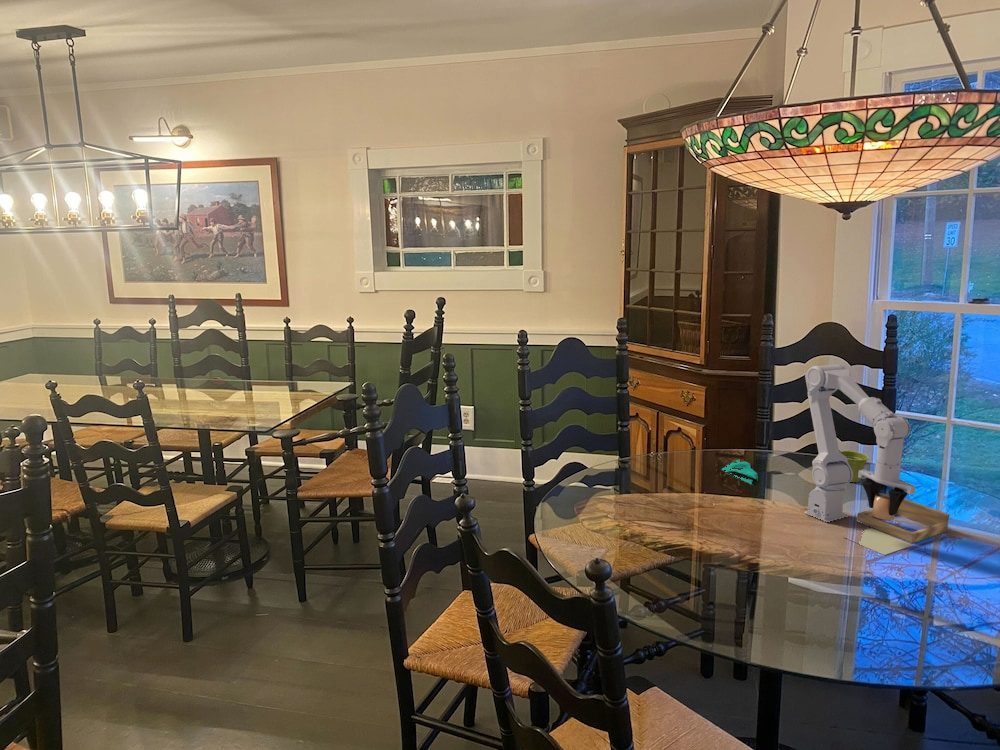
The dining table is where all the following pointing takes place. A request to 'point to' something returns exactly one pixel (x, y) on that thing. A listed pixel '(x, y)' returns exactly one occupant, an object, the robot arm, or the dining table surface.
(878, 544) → the potting mat
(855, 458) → the plant pot
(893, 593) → the dining table surface
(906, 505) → the cold frame
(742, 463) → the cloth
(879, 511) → the terracotta pot
